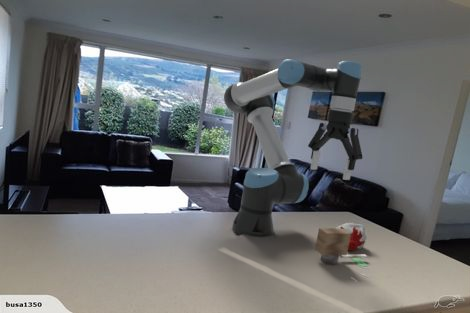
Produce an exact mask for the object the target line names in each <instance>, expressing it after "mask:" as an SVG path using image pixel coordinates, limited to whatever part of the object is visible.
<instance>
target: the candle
mask: <svg viewBox="0 0 470 313" xmlns="http://www.w3.org/2000/svg"><path fill="white" fill-rule="evenodd" d="M336 228H338V229H345V230H346V231H348V232H349V233H351V237H350V242H349V246H348V251H354V250H355V251H356V249H358V250H361V249H362V248H363V247H364V246H365V245H366V242H367V241H366V240H367V234H366V228H365V226H364V225H363V224H361V223H358V224H357V223H353V222H346V223H343V224H340V225H339V226H336Z"/></svg>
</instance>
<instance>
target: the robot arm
mask: <svg viewBox="0 0 470 313" xmlns="http://www.w3.org/2000/svg"><path fill="white" fill-rule="evenodd" d="M362 70H363V66H362V63H359V62H356V61H351V60H342V61H340V62H338V65H337V67H336V68H324V67H321V66H319V65H313V64H310V63H307V62H302V61H301V60H299V59H298V60H297V59H290V58H289V59H288V58H287V59H284V60H283V61H282V62H281V63H280V64H279V66H278V68H276V69H273V70H272V71H271V70H270V71H269V72H267V73H264V74H262V75H259V76H257V77H254V78H251V79H249V80H247V81H244V82H242V81H237V82H235V83H233V84H231V85H229V86H228V87H227V88H226V90H225V91H224V95H223V102H224V104H225V107H227V108H228V109H229V110H230V111H232V112H234V113H236V114H243V115H245V116H246V120H247V122H248V123H250V124H252V125H253V126H252V127H253V128H254V131H255V134H256V136H257V139H258V142H259V145H260V147H261V151H262V153H263V157H264V159H265V161H266V164H267V167H265V168H264V167H254V168H251V169H248V170H247V171H246V173H245V178H244V180H243V189H242V195H241V200H240V208H239V211H238V213H237V215H236V216H235V217H234V220H233V223H232V228H231V230H232V231H233V232H234V233H235V234H237V235H238V236H242V235H246V236H251V237H257V238H263V237H264V238H265V237H270V236H272V235H273V234H274V231H275V229H274V221H273V215H272V213H273V208H274V205H285V204H289V205H291V204H296V203H297V204H298V203H300V202H302V201H304V199H305V198H306V197H307V195H308V191H309V187H310V186H309V185H310V184H309V180H308V177H307V176H306V175H305V174H303V173H301V172H298V170H297V167H296V165H295V164H294V163H291V162H290V159H289V157H288V155H287V152H286V149H285V146H284V145H283V143H282V140H281V137H280V134H279V132H278V129H277V126H276V124H275V122H274V120H273V115H274V111H275V105H276V101H275V97H274V96H273V94H275V93H278V92H283V91H285V90H288V89H292V88H295V87H302V88H306V89H309V90H312V91H316V92H332V96H331V100H330V106H329V108H330V110H329V112H328V117H327V121H328V122H320V123H319V125H318V128H317V130H316V132H315V134H314V135H313V137H312V139H311V140H310V142H309V143H308V145H307V146H308V148H310V149H311V155H310V159H311V163H310V170H312V171H313V170H315V171H316V170H318V166H319V162H320V161H319V160H320V156H321V151H320V149H321V148H322V147H323V146H324V145H325V144H326V143H328V142H329V140H331V139H335V140H338V141H340V142H341V143H342V145H343V147H344V150H345V152H346V155H347V157H348V158H347V159H346V161H345V166H344V171H343V176H342V180H345V181H350V180H351V177H352V176H351V175H352V171H354V170H355V166H356V162H357V160H362V159H363V153H362V146H361V144H360V138H359V128H357V127H356V128H355V127H351V124H352V122H353V118H354V114H353V112H354V111H355V106H356V101H357V96H358V91H359V86H360V83H361V79H362V72H363V71H362ZM348 134H349V135H350V137H349V135H348Z"/></svg>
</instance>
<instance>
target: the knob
mask: <svg viewBox="0 0 470 313" xmlns="http://www.w3.org/2000/svg"><path fill="white" fill-rule="evenodd" d="M350 237H351V233H349V232H348V231H346V230H345V229H338V228H337V227H336V228H331V227H330V228H327V227H326V228H325V227H319V228H318V232H317V237H316V238H317V239H316V242H315V247H314V249H315V251H317V252H318V254H320V261H321V262H322V263H324V264H326V265H329V266H337V265H338V262H339V258H340V259H351V258H359V259H367V258H368V255H367V254H365V253H364V254H362V253H361V254H352V255H350V254H348V251H349V250H348V246H349V242H350Z"/></svg>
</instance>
